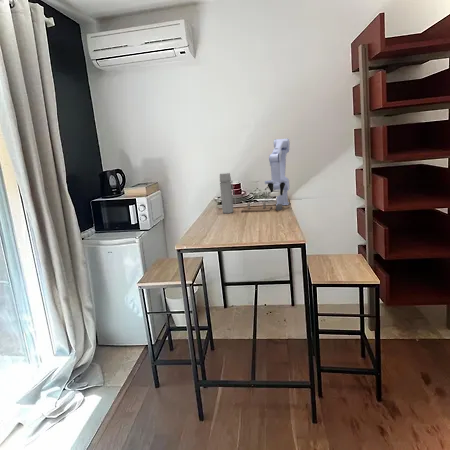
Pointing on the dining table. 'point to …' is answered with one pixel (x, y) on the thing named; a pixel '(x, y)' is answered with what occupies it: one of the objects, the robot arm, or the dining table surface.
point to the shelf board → (275, 193)
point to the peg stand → (256, 208)
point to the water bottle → (226, 193)
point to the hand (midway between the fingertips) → (277, 195)
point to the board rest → (279, 207)
